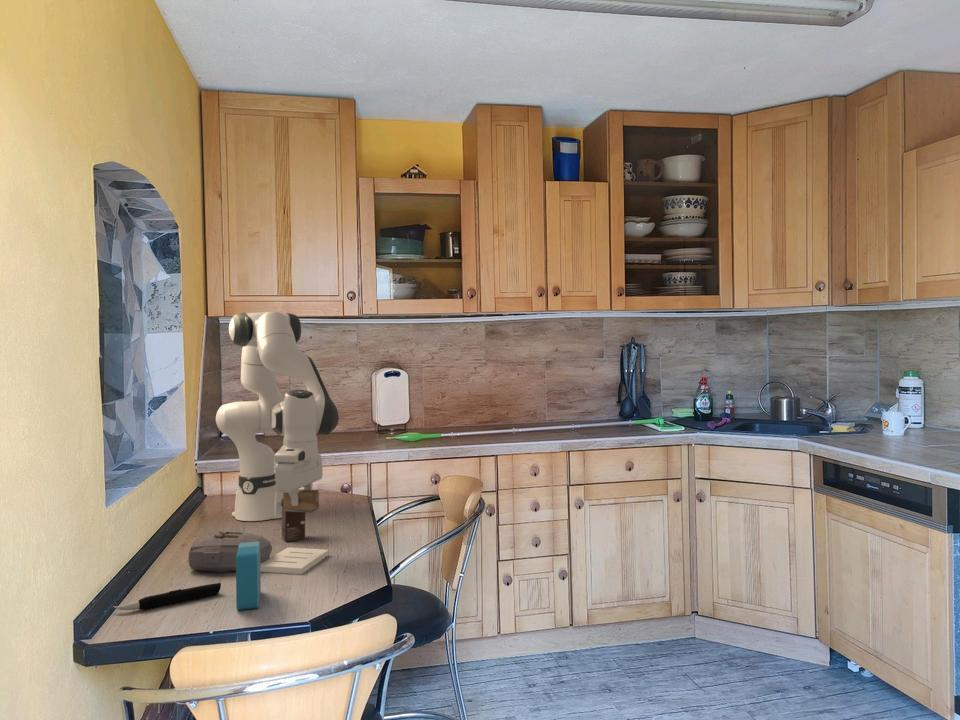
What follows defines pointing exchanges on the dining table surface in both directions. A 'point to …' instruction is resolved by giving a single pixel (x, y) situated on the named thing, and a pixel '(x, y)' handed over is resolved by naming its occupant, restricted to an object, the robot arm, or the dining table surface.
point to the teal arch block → (248, 576)
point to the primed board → (293, 560)
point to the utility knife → (173, 597)
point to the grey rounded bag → (223, 551)
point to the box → (292, 525)
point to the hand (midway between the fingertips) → (300, 502)
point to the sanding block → (302, 501)
